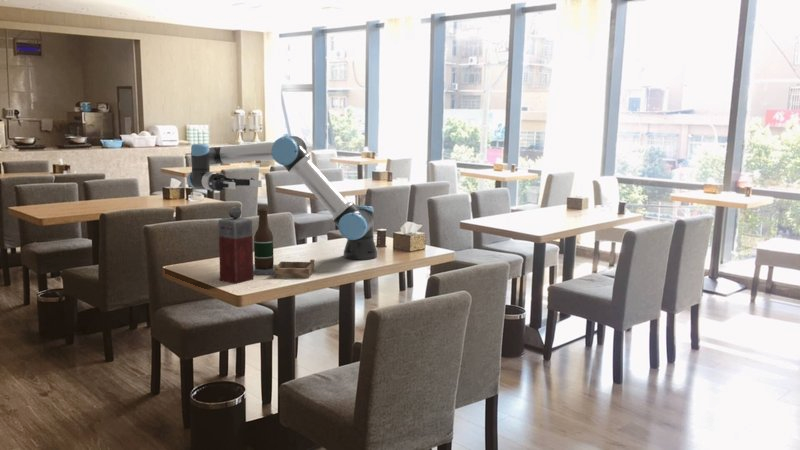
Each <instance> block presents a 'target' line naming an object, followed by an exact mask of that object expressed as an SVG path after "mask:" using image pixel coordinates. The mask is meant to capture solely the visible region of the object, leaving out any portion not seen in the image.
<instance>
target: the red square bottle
mask: <svg viewBox="0 0 800 450" xmlns="http://www.w3.org/2000/svg"><path fill="white" fill-rule="evenodd" d="M241 214H242V209H241V208H240V207H239V206H232V207H230V208H229V210H228V215H229V217H228V218H226V217H225V218H221V219H219V220H218V249H219V250H218V253H219V281H221V282H226V283H231V284H235V285H236V284H241V283H245V282H248V281H252V280H254V274H253V264H254V235H253V221H252V218H245V217H241Z"/></svg>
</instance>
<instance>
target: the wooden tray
mask: <svg viewBox="0 0 800 450" xmlns="http://www.w3.org/2000/svg"><path fill="white" fill-rule="evenodd" d="M273 265H274V278H282V279H283V278H288V279H289V278H290V279H291V278H293V279H296V278H297V279H304V278H305V279H309V278H311V276H312V275H313V273H314V272H315V259H310V260H309V261H280V262H279V263H278V264H273Z"/></svg>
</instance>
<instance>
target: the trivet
mask: <svg viewBox="0 0 800 450" xmlns="http://www.w3.org/2000/svg"><path fill="white" fill-rule="evenodd" d="M274 265H275V264H273V268H271V269H256V268H255V263H253V275H259V276H260V275H267V276H270V275H271V276H273V275H274Z"/></svg>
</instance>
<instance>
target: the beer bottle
mask: <svg viewBox="0 0 800 450" xmlns="http://www.w3.org/2000/svg"><path fill="white" fill-rule="evenodd" d="M253 263H254V264H255V268H256V269H271V268H273V265H274V236H273V232H272V231H271V229H270V227H269V221H268V208H267V207H260V208H258V227H257V230H256V231H255V234H254V235H253Z"/></svg>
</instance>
